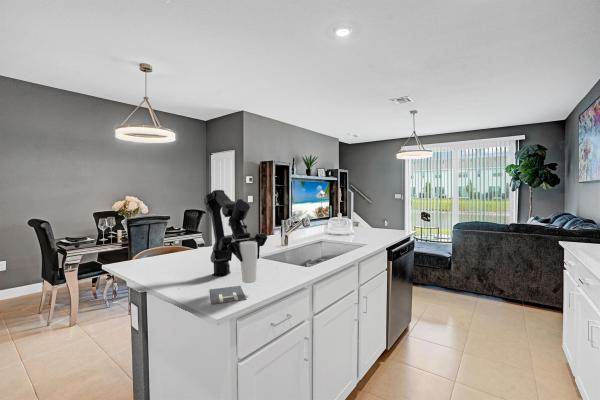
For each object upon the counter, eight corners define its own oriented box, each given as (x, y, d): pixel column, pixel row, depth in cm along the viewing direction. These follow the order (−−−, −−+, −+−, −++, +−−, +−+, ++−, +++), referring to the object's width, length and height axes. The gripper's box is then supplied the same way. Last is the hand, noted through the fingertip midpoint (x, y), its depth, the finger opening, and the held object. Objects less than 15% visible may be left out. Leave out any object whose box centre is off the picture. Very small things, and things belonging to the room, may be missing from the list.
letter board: (210, 290, 118) (210, 289, 118) (240, 286, 122) (240, 285, 122) (211, 304, 103) (211, 303, 103) (246, 299, 107) (246, 298, 107)
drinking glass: (242, 278, 117) (241, 241, 116) (259, 278, 116) (258, 240, 116) (238, 284, 110) (237, 244, 109) (256, 284, 110) (255, 244, 109)
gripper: (253, 237, 130) (265, 267, 122) (211, 242, 120) (221, 275, 111) (261, 221, 123) (274, 251, 115) (217, 224, 113) (228, 258, 104)
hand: (250, 259), depth 111 cm, fingers closed on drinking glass, 6 cm apart
